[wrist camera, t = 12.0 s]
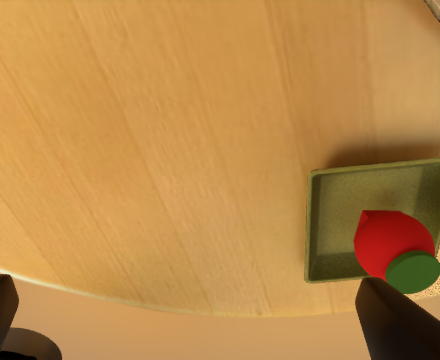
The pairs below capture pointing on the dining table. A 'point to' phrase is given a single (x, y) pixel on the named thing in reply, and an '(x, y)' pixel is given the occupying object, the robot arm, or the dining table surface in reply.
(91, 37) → the dining table surface
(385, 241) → the strawberry
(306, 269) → the green shallow tray
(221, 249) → the dining table surface
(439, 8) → the omelette plate
